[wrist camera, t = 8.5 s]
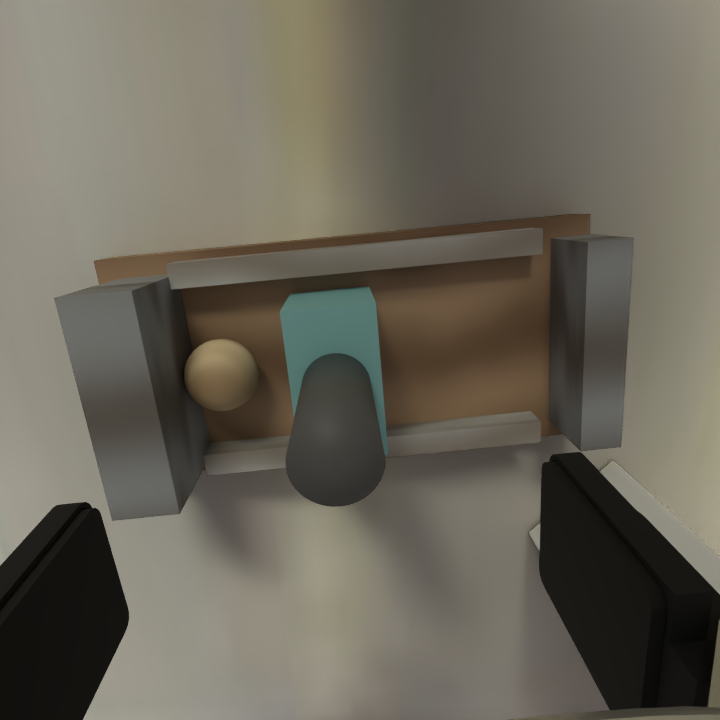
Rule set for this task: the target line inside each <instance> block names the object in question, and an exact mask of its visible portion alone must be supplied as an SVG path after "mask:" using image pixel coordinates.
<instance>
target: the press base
mask: <svg viewBox="0 0 720 720" xmlns="http://www.w3.org/2000/svg"><path fill="white" fill-rule="evenodd" d="M633 239H634V238H628V237H616V236H603V235H591V234H590V214H568V215H557V216H547V217H536V218H526V219H515V220H504V221H494V222H483V223H473V224H462V225H451V226H441V227H430V228H419V229H409V230H398V231H388V232H377V233H366V234H356V235H345V236H335V237H324V238H313V239H303V240H292V241H282V242H271V243H260V244H250V245H239V246H229V247H218V248H207V249H197V250H186V251H175V252H165V253H154V254H144V255H133V256H122V257H112V258H106V259H101V260H96V261H94V264H95V268H96V273H97V277H98V281H99V285H97V286H93V287H90V288H87V289H83V290H80V291H77V292H73V293H70V294H67V295H63V296H60V297H56V298H54V299H55V303H56V307H57V311H58V314H59V318H60V322H61V326H62V330H63V334H64V337H65V341H66V345H67V349H68V353H69V357H70V360H71V364H72V368H73V372H74V376H75V380H76V384H77V387H78V391H79V395H80V399H81V403H82V407H83V410H84V414H85V418H86V422H87V426H88V430H89V433H90V437H91V441H92V445H93V449H94V453H95V456H96V460H97V464H98V468H99V472H100V476H101V479H102V483H103V487H104V491H105V495H106V499H107V503H108V506H109V510H110V514H111V518H112V521H114V520H124V519H134V518H144V517H153V516H163V515H173V514H180V512H181V510H182V509H183V507H184V505H185V503H186V501H187V499H188V497H189V495H190V493H191V491H192V490H193V488H194V486H195V484H196V482H197V480H198V478H199V476H200V474H201V473H202V471H203V470H206V473H207V476H210V475H220V474H230V473H240V472H250V471H260V470H269V469H279V468H286V462H285V461H286V453H287V448H288V444H289V439H290V435H291V430H292V425H293V421H294V413H293V406H292V399H291V391H290V384H289V377H288V369H287V362H286V355H285V347H284V340H283V333H282V325H281V318H280V310H281V309H282V307H283V305H284V304H285V302H286V300H287V299H288V297H289V295H290V294H291V293H300V292H311V291H321V290H331V289H342V288H352V287H363V286H369V287H370V290H371V292H372V295H373V297H374V299H375V302H376V311H377V323H378V335H379V348H380V360H381V372H382V384H383V396H384V409H385V421H386V433H387V445H388V455H385V458H389V457H399V456H408V455H418V454H428V453H438V452H448V451H458V450H468V449H478V448H488V447H498V446H508V445H518V444H528V443H538V442H541V436H547V435H557V434H564V435H565V436H566V437H567V438H568V439H569V440H570V441H571V442H572V443H573V444H574V445H575V446H576V447H577V448H578V449H579V450H580V451H586V450H596V449H606V448H616V447H621V439H622V423H623V406H624V389H625V373H626V356H627V339H628V322H629V306H630V289H631V272H632V255H633Z"/></svg>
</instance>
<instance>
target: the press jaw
mask: <svg viewBox="0 0 720 720" xmlns="http://www.w3.org/2000/svg"><path fill="white" fill-rule="evenodd" d="M280 318H281V325H282V333H283V340H284V347H285V355H286V362H287V369H288V377H289V384H290V391H291V399H292V406H293V413H294V421H293V425H292V430H291V435H290V439H289V444H288V448H287V453H286V461H285V462H286V470H287V474H288V477H289V479H290V481H291V483H292V485H293V486H294V487H295V489H296V490H297V491H298V492H299V493H300V494H301V495H303V496H304V497H305V498H307V499H309V500H310V501H313V502H315V503H317V504H321V505H325V506H345V505H349V504H353V503H355V502H358V501H360V500H361V499H363V498H365V497H366V496H368V495H369V494H370V493H371V492H372V491H373V490H374V489H375V488H376V486H377V485H378V484H379V482H380V480H381V478H382V476H383V473H384V469H385V455H388V445H387V433H386V421H385V409H384V396H383V384H382V372H381V360H380V348H379V335H378V323H377V311H376V302H375V299H374V297H373V295H372V292H371V290H370V287H369V286H363V287H352V288H342V289H331V290H321V291H311V292H300V293H291V294H290V295H289V297H288V299H287V300H286V302H285V304H284V305H283V307H282V309H281V310H280Z"/></svg>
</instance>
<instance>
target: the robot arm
mask: <svg viewBox="0 0 720 720" xmlns="http://www.w3.org/2000/svg"><path fill="white" fill-rule="evenodd" d="M539 570H540V576H541V580H542V583H543V585H544V587H545V589H546V591H547V593H548V595H549V596H550V598H551V600H552V602H553V604H554V606H555V608H556V610H557V612H558V613H559V615H560V617H561V619H562V621H563V623H564V625H565V627H566V628H567V630H568V632H569V634H570V636H571V638H572V640H573V642H574V643H575V645H576V647H577V649H578V651H579V653H580V655H581V657H582V658H583V660H584V662H585V664H586V666H587V668H588V670H589V672H590V673H591V675H592V677H593V679H594V681H595V683H596V685H597V687H598V689H599V690H600V692H601V694H602V696H603V698H604V700H605V702H606V704H607V705H608V707H609V709H610V710H609V711H598V712H586V713H574V714H562V715H550V716H538V717H528V718H518V719H508V720H720V594H719V593H718V592H717V591H716V590H715V589H714V588H713V587H712V586H711V585H710V584H709V583H708V582H707V581H706V580H705V579H704V578H703V576H702V575H701V574H700V573H699V572H698V571H697V570H696V569H695V568H694V567H693V566H692V565H691V564H690V563H689V562H688V561H687V560H686V559H685V558H684V557H683V556H682V555H681V554H680V553H679V552H678V551H677V549H676V548H675V547H674V546H673V545H672V544H671V543H670V542H669V541H668V540H667V539H666V538H665V537H664V536H663V535H662V534H661V533H660V532H659V531H658V530H657V529H656V528H655V527H654V526H653V525H652V524H651V522H650V521H649V520H648V519H647V518H646V517H645V516H643V515H642V514H641V513H640V512H638V511H637V510H636V509H635V508H634V507H633V506H632V505H631V504H630V503H629V502H628V501H627V500H626V499H625V498H624V497H623V496H622V495H621V493H620V492H619V491H618V490H617V489H616V488H615V487H614V486H613V485H612V484H611V483H610V482H609V481H608V480H607V479H606V478H605V477H604V476H603V475H602V474H601V473H600V472H599V470H598V469H597V468H596V467H595V466H594V465H593V464H592V463H591V462H590V461H589V460H588V459H587V458H586V457H585V456H584V455H583V454H582V453H581V452H574V453H564V454H555V455H552V456H551V458H550V461H549V462H544V463H543V465H542V479H541V517H540V555H539ZM128 621H129V611H128V607H127V603H126V600H125V596H124V593H123V589H122V586H121V582H120V579H119V576H118V572H117V569H116V565H115V562H114V558H113V555H112V551H111V548H110V544H109V541H108V537H107V534H106V531H105V527H104V524H103V520H102V517H101V514H100V511H99V510H98V509H96V508H92V507H91V505H90V504H89V503H87V502H82V503H72V504H62V505H56V506H55V507H54V508H52V510H51V511H50V512H49V513H48V514H47V515H46V516H45V517H44V518H43V519H42V521H41V522H40V523H39V524H38V525H37V526H36V527H35V528H34V529H33V530H32V532H31V533H30V534H29V535H28V536H27V537H26V538H25V539H24V540H23V542H22V543H21V544H20V545H19V546H18V547H17V548H16V549H15V550H14V551H13V553H12V554H11V555H10V556H9V557H8V558H7V559H6V560H5V561H4V562H3V564H2V565H1V566H0V720H83V718H84V716H85V714H86V712H87V710H88V708H89V706H90V704H91V702H92V700H93V697H94V695H95V693H96V691H97V689H98V687H99V685H100V683H101V681H102V679H103V677H104V675H105V673H106V671H107V669H108V667H109V664H110V662H111V660H112V658H113V656H114V654H115V652H116V650H117V648H118V646H119V644H120V642H121V640H122V638H123V636H124V633H125V631H126V629H127V626H128Z"/></svg>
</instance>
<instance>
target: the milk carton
mask: <svg viewBox="0 0 720 720" xmlns="http://www.w3.org/2000/svg"><path fill="white" fill-rule="evenodd" d="M599 472H600V473H601V474H602V475H603V476H604V477H605V478H606V479H607V480H608V481H609V482H610V483H611V484H612V485H613V486H614V487H615V488H616V489H617V490H618V491H619V492H620V493H621V495H622V496H623V497H624V498H625V499H626V500H627V501H628V502H629V503H630V504H631V505H632V506H633V507H634V508H635V509H636V510H637V511H638V512H640V513H641V514H642V515H643V516H645V517H646V518H647V519H648V520H649V521H650V522H651V524H652V525H653V526H654V527H655V528H656V529H657V530H658V531H659V532H660V533H661V534H662V535H663V536H664V537H665V538H666V539H667V540H668V541H669V542H670V543H671V544H672V545H673V546H674V547H675V548H676V549H677V551H678V552H679V553H680V554H681V555H682V556H683V557H684V558H685V559H686V560H687V561H688V562H689V563H690V564H691V565H692V566H693V567H694V568H695V569H696V570H697V571H698V572H699V573H700V574H701V575H702V576H703V578H704V579H705V580H706V581H707V582H708V583H709V584H710V585H711V586H712V587H713V588H714V589H715V590H716V591H717V592H718V593H719V594H720V556H719V555H718V554H717V553H716V552H715V551H713V550H712V549H711V548H710V547H709V546H708V545H707V544H706V543H705V542H703V541H702V540H701V539H700V538H699V537H698V536H697V535H696V534H695V533H693V532H692V531H691V530H690V529H689V528H688V527H687V526H686V525H685V524H683V523H682V522H681V521H680V520H679V519H678V518H677V517H676V516H675V515H673V514H672V513H671V512H670V511H669V510H668V509H667V508H666V507H664V506H663V505H662V504H661V503H660V502H659V501H658V500H657V499H656V498H654V497H653V496H652V495H651V494H650V493H649V492H648V491H647V490H646V489H644V488H643V487H642V486H641V485H640V484H639V483H638V482H637V481H636V480H634V479H633V478H632V477H631V476H630V475H629V474H628V473H627V472H626V471H624V470H623V469H622V468H621V467H620V466H619V465H618V464H617V463H615V462H614V461H611V462H610V463H609V464H608V465H607V466H605V467H604V468H603V469H602V470H601V471H599ZM529 535H530V536H531V538H532V540H533V542H534V543H535V545H536V547H537V548H538V550H539V552H540V523H539V524H538V525H537V526H536V527H534V528H533V529H532V530H531V531H530V532H529Z"/></svg>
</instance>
